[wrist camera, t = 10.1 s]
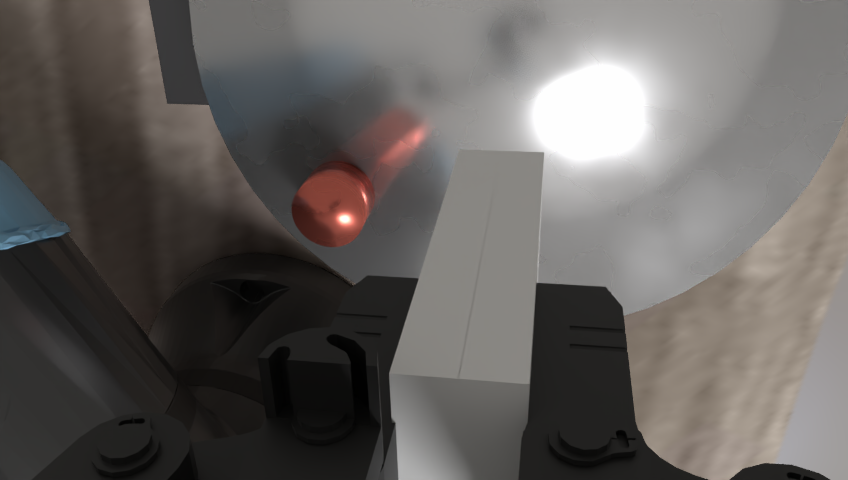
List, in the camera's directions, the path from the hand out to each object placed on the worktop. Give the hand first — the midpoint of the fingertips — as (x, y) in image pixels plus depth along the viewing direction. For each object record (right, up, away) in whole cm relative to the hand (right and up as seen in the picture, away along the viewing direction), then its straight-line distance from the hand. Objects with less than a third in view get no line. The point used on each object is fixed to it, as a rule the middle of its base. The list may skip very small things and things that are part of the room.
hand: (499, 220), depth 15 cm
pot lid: (+1, +6, +11) cm, 12 cm away
